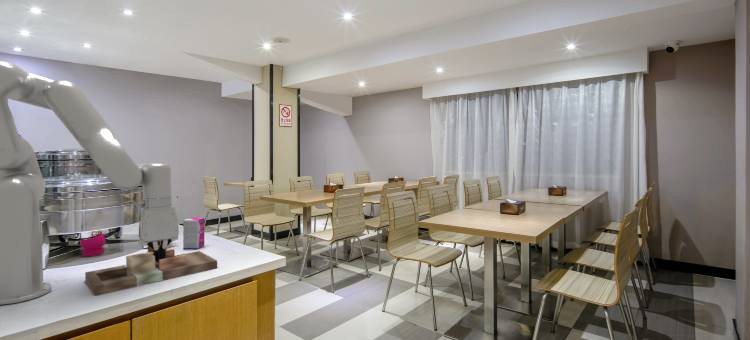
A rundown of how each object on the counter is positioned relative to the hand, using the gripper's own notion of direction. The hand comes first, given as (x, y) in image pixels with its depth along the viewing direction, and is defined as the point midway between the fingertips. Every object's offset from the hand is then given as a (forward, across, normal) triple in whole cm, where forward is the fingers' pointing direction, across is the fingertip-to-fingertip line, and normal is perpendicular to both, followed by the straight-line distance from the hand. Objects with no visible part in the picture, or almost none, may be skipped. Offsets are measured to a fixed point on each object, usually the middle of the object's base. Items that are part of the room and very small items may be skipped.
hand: (159, 261), depth 113 cm
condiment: (+4, +5, +23) cm, 24 cm away
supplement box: (+4, +18, +23) cm, 30 cm away
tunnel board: (+4, -1, 0) cm, 4 cm away
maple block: (+1, -5, 0) cm, 5 cm away
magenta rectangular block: (+4, -11, +39) cm, 40 cm away
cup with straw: (+4, +11, +32) cm, 34 cm away
